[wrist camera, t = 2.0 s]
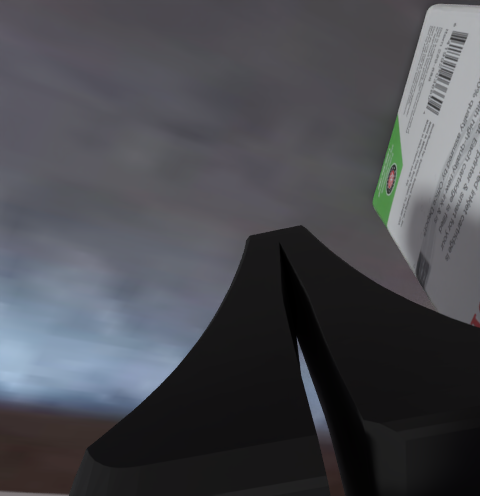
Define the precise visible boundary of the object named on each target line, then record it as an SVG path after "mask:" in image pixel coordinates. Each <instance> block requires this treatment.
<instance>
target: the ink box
mask: <svg viewBox="0 0 480 496" xmlns="http://www.w3.org/2000/svg"><path fill="white" fill-rule="evenodd" d="M373 207H374V209H375V210H376V212H377V213H378V215H379V217H380V218H381V220H382V221H383V223H384V225H385V226H386V228H387V229H388V231H389V233H390V235H391V236H392V238H393V240H394V241H395V243H396V244H397V246H398V248H399V250H400V251H401V253H402V254H403V256H404V258H405V259H406V261H407V263H408V264H409V266H410V268H411V270H412V271H413V273H414V274H415V276H416V277H417V279H418V281H419V283H420V284H421V286H422V287H423V290H424V291H425V292H426V294H427V296H428V298H429V300H430V301H431V303H432V305H433V306H434V308H435V310H436V311H437V312H438V313H440V314H443V315H445V316H448V317H450V318H453V319H456V320H459V321H462V322H464V323H467V324H470V325H473V326H476V327H479V328H480V6H477V5H458V4H436V5H433V6H431V7H430V8H429V9H428V11H427V13H426V17H425V20H424V24H423V27H422V31H421V34H420V38H419V41H418V45H417V48H416V52H415V55H414V59H413V62H412V65H411V69H410V72H409V76H408V79H407V83H406V86H405V90H404V93H403V97H402V100H401V104H400V107H399V111H398V115H397V118H396V121H395V125H394V129H393V132H392V136H391V139H390V142H389V146H388V150H387V153H386V156H385V160H384V163H383V167H382V170H381V173H380V177H379V181H378V185H377V188H376V191H375V194H374V198H373Z"/></svg>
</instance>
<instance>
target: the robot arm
mask: <svg viewBox="0 0 480 496" xmlns="http://www.w3.org/2000/svg"><path fill="white" fill-rule="evenodd" d="M296 336H297V337H296ZM297 339H298V342H299V344H300V347H301V350H302V353H303V356H304V359H305V361H306V364H307V367H308V370H309V373H310V376H311V378H312V381H313V384H314V387H315V390H316V393H317V395H318V398H319V401H320V404H321V407H322V409H323V412H324V415H325V419H326V422H327V425H328V428H329V432H330V435H331V439H332V443H333V447H334V451H335V455H336V459H337V463H338V467H339V471H340V475H341V480H342V484H343V488H344V492H345V496H480V328H479V327H476V326H473V325H470V324H467V323H464V322H462V321H459V320H456V319H453V318H450V317H448V316H445V315H443V314H440V313H438V312H436V311H433V310H431V309H428V308H426V307H423V306H421V305H419V304H416V303H414V302H412V301H410V300H408V299H406V298H404V297H402V296H400V295H398V294H396V293H394V292H392V291H390V290H388V289H386V288H384V287H383V286H381V285H379V284H377V283H376V282H374V281H372V280H371V279H369V278H368V277H366V276H365V275H363V274H362V273H360V272H359V271H357V270H356V269H354V268H353V267H351V266H350V265H349V264H347V263H346V262H345V261H343V260H342V259H341V258H340V257H338V256H337V255H336V254H334V253H333V252H332V251H331V250H329V249H328V248H327V247H326V246H325V245H324V244H322V243H321V242H320V241H319V240H318V239H317V238H316V237H315V236H313V235H312V234H311V233H310V232H309V231H308V230H307V229H306V228H305V227H303V226H302V225H300V226H295V227H290V228H285V229H280V230H276V231H271V232H266V233H261V234H256V235H251V236H249V238H248V239H247V240H246V245H245V249H244V253H243V256H242V259H241V262H240V264H239V267H238V270H237V272H236V274H235V277H234V279H233V281H232V284H231V286H230V288H229V290H228V292H227V294H226V296H225V298H224V300H223V302H222V303H221V305H220V307H219V309H218V311H217V313H216V314H215V316H214V318H213V319H212V321H211V322H210V324H209V326H208V327H207V329H206V330H205V331H204V333H203V334H202V336H201V337H200V339H199V340H198V342H197V343H196V344H195V345H194V347H193V348H192V349H191V351H190V352H189V353H188V354H187V356H186V357H185V358H184V359H183V361H182V362H181V363H180V364H179V365H178V367H177V368H176V369H175V370H174V371H173V372H172V373H171V374H170V375H169V376H168V377H167V378H166V379H165V380H164V382H163V383H162V384H161V385H160V386H159V387H158V388H157V389H156V390H155V391H153V392H152V393H151V394H150V395H149V396H148V397H147V398H146V399H145V400H144V401H143V402H142V403H141V404H140V405H139V406H138V407H136V408H135V409H134V410H133V411H132V412H131V413H130V414H128V415H127V416H126V417H125V418H124V419H122V420H121V421H120V422H119V423H117V424H116V425H115V426H114V427H113V428H111V429H110V430H109V431H108V432H107V433H105V434H104V435H103V436H102V437H101V438H99V439H98V440H97V441H96V442H94V443H93V444H92V445H90V446H89V447H88V448H87V449H86V451H85V454H84V457H83V460H82V462H81V465H80V467H79V470H78V472H77V474H76V477H75V479H74V482H73V485H72V488H71V491H70V494H69V496H330V491H329V485H328V480H327V476H326V471H325V467H324V463H323V458H322V454H321V450H320V446H319V441H318V437H317V433H316V429H315V426H314V422H313V418H312V415H311V411H310V407H309V403H308V400H307V396H306V392H305V388H304V384H303V380H302V377H301V371H300V362H299V354H298V345H297Z"/></svg>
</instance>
